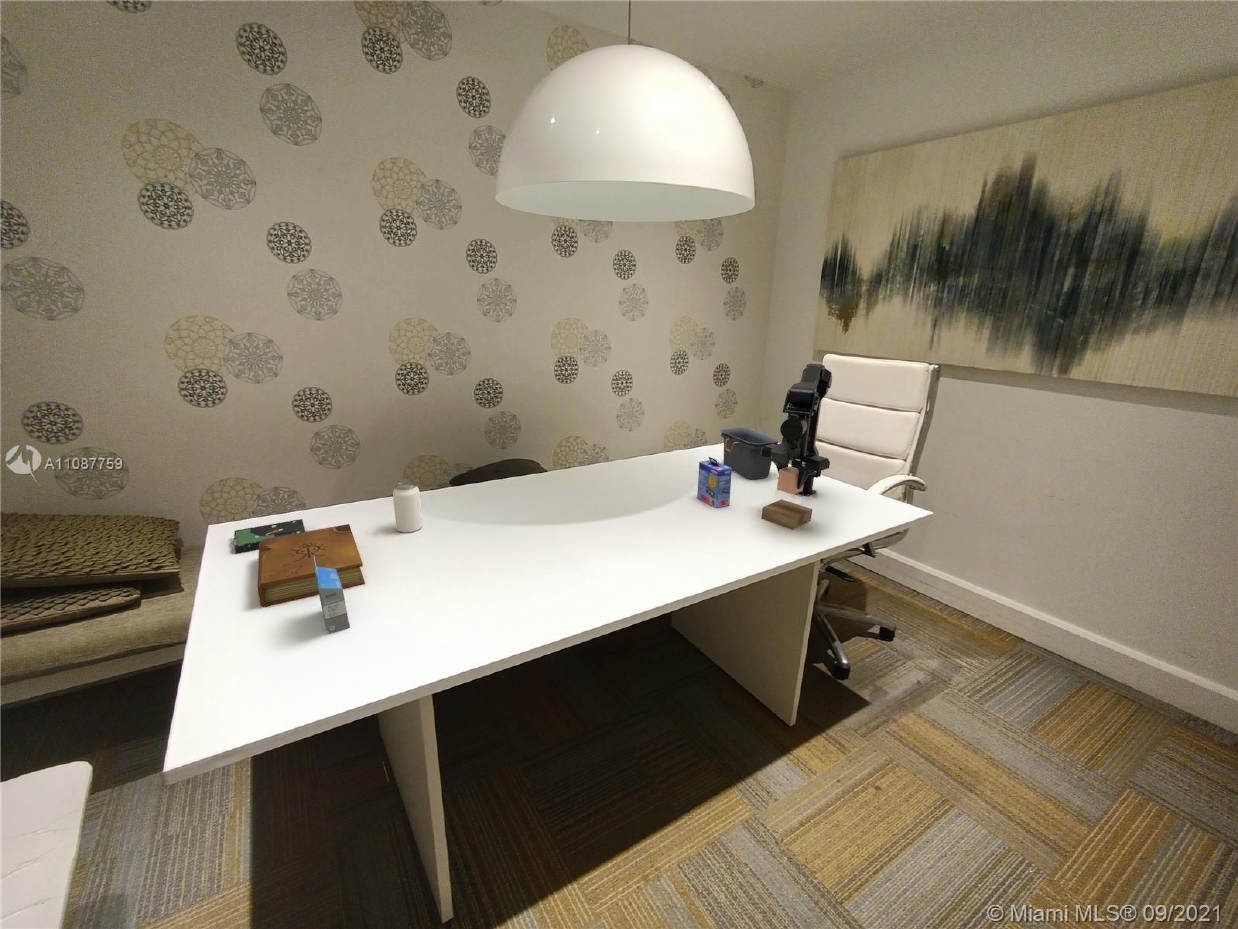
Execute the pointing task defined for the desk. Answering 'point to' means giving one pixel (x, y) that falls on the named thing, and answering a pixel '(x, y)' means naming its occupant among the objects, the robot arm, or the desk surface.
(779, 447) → the robot arm
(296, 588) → the diary
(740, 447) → the storage bin
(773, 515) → the walnut block
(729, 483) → the ink cartridge box
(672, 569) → the desk surface
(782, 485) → the terracotta box
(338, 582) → the label tape box
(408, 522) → the can
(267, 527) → the disk drive
